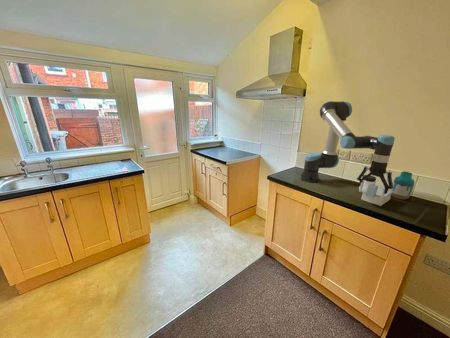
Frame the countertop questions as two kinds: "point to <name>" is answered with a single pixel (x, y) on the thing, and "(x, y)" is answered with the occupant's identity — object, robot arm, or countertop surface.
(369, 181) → the jar
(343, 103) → the robot arm
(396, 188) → the green capped bottle
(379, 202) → the tub
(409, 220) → the countertop surface
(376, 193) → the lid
